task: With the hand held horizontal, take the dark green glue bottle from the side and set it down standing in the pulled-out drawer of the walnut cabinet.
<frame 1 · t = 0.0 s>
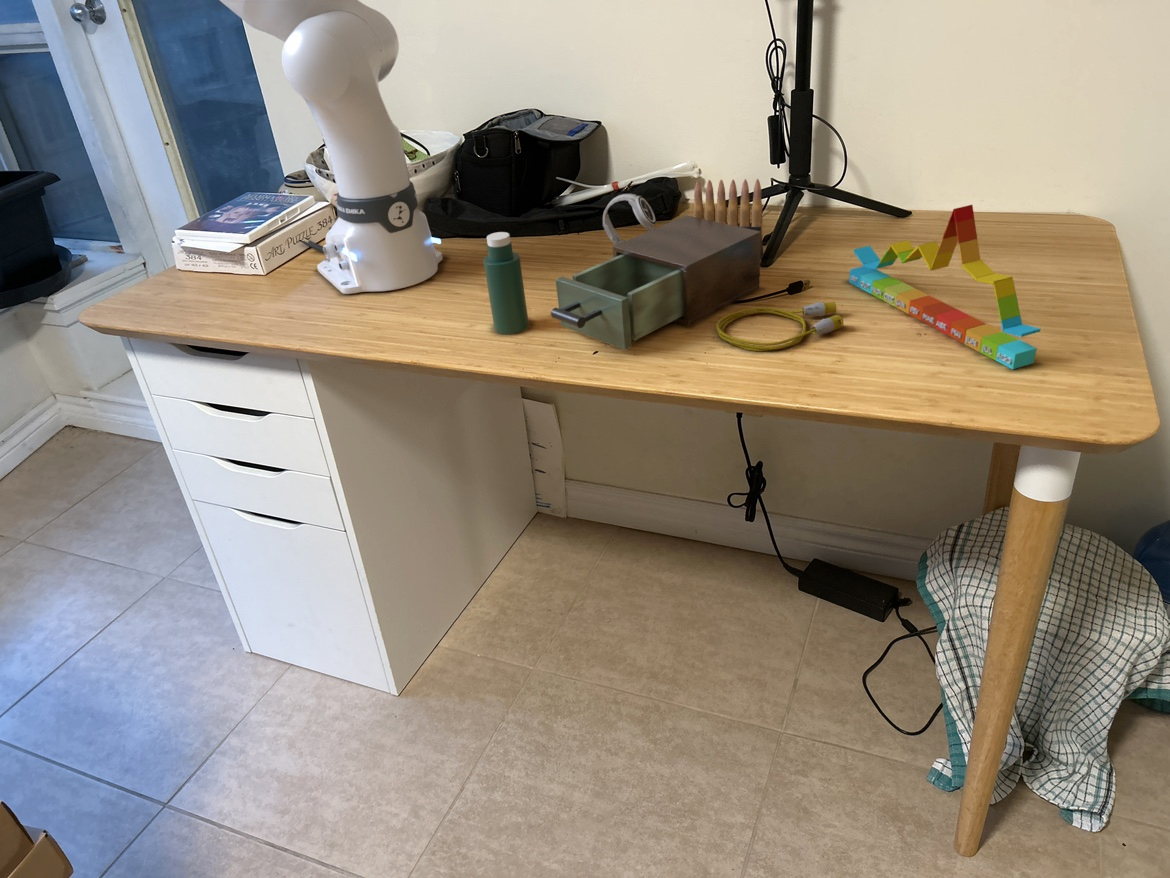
ammunition clip: (727, 258, 132), on the table
chart: (929, 320, 108), on the table
cabinet: (688, 295, 121), on the table
drawer: (617, 300, 111), point 4 cm above the table, slide at 10.0 cm
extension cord: (778, 332, 109), on the table
watch: (632, 266, 133), on the table
glue bottle: (511, 327, 117), on the table
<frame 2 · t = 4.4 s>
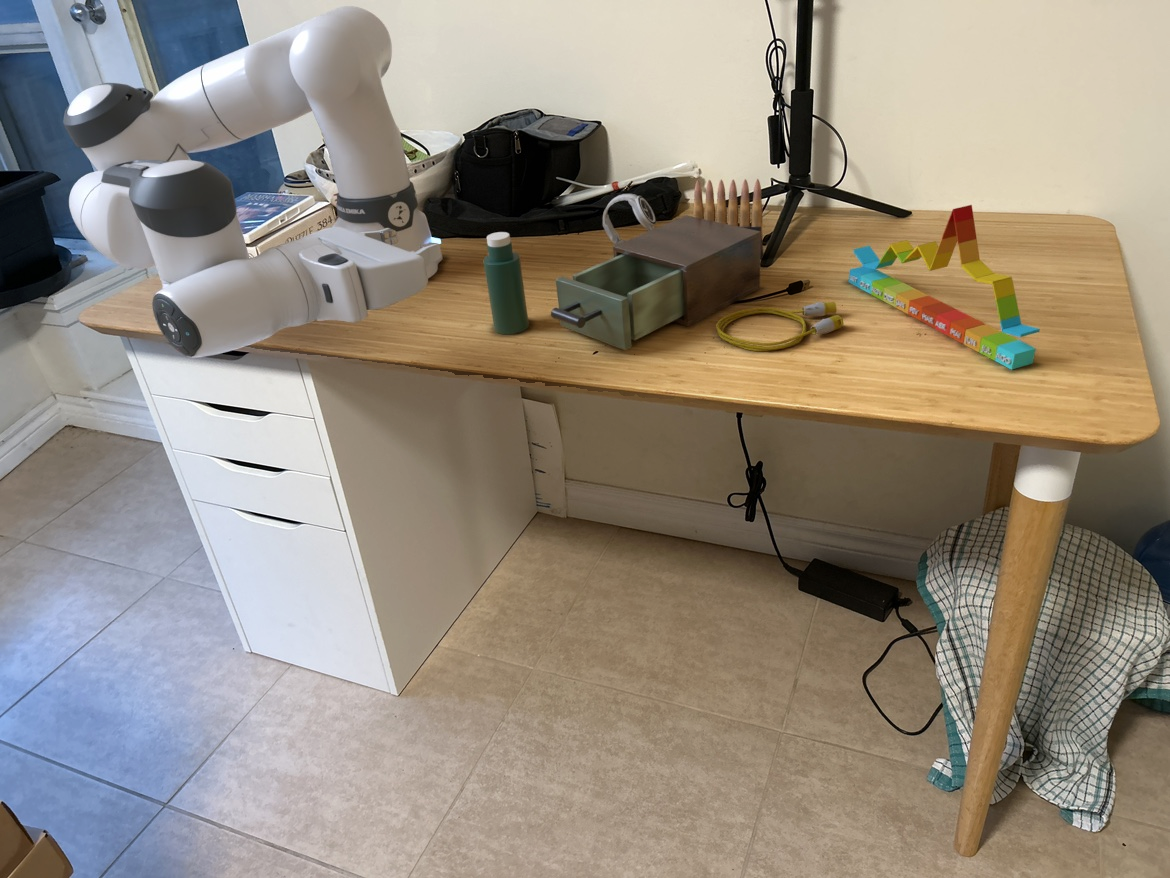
hand: (415, 242, 102), 16 cm above the table, tool horizontal, fingers open, 8 cm apart
nothing on the table moved.
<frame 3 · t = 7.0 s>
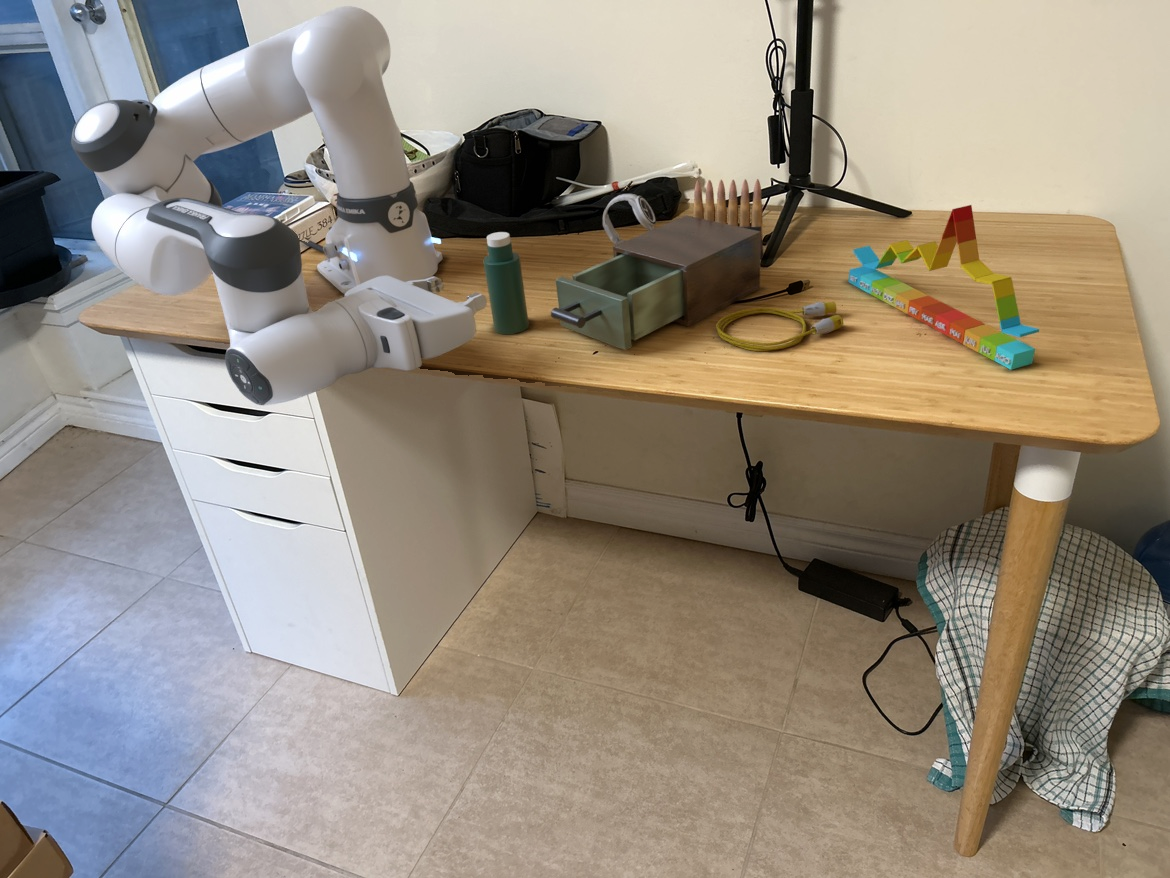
hand: (460, 290, 109), 8 cm above the table, tool horizontal, fingers open, 8 cm apart
nothing on the table moved.
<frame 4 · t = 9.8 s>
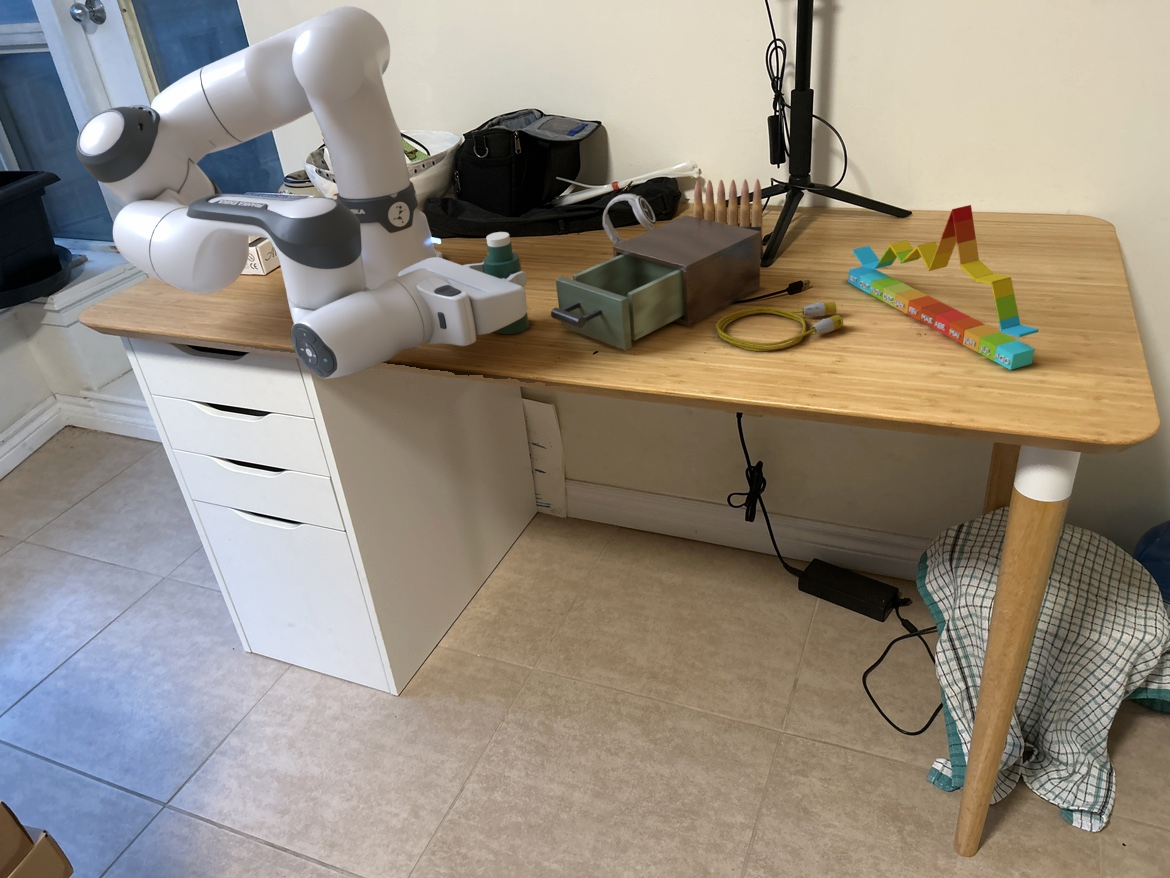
hand: (508, 271, 113), 8 cm above the table, tool horizontal, fingers closed on glue bottle, 5 cm apart
glue bottle: (511, 326, 117), on the table, touching gripper
everything else where it was.
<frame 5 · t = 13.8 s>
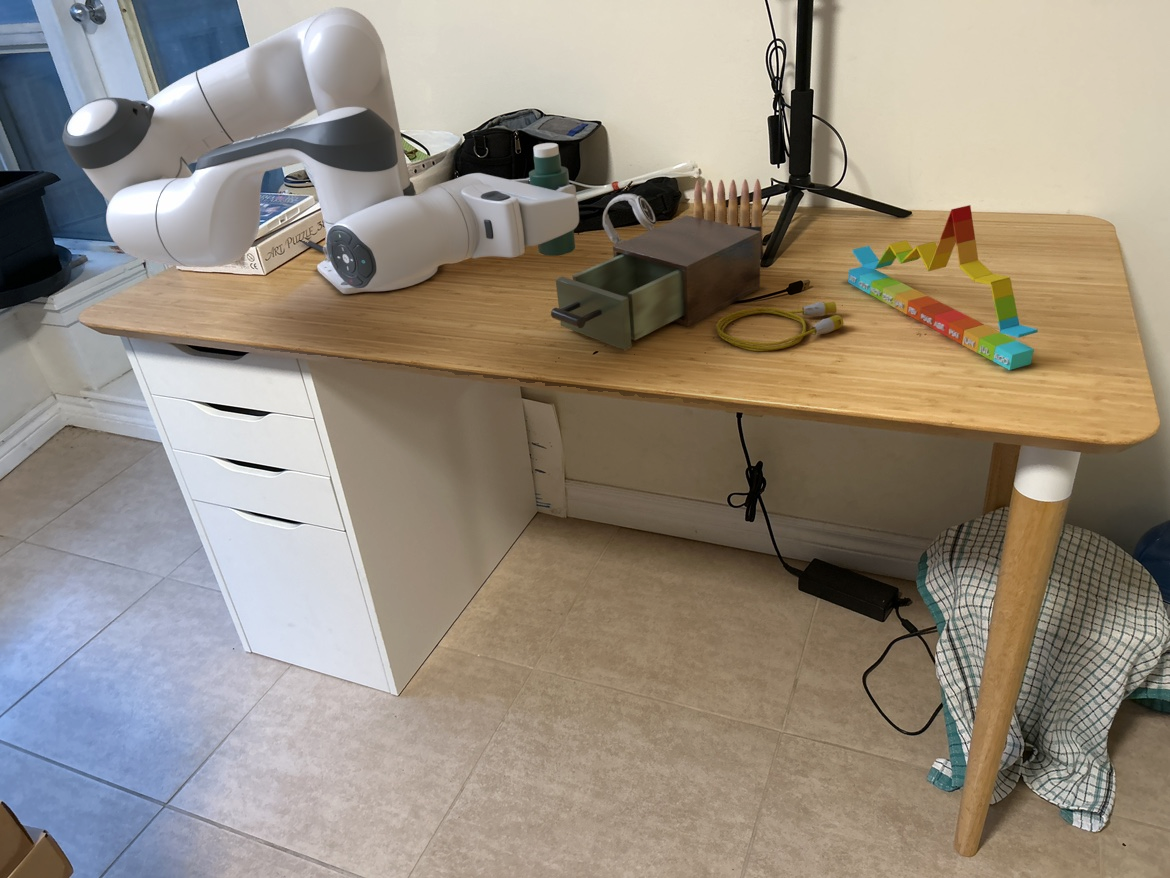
hand: (556, 187, 106), 19 cm above the table, tool horizontal, fingers closed on glue bottle, 5 cm apart
glue bottle: (556, 249, 109), point 11 cm above the table, touching gripper
everything else where it was.
when the fingers open (10 cm above the table, at t = 18.1 s): glue bottle stays where it is, resting on drawer.
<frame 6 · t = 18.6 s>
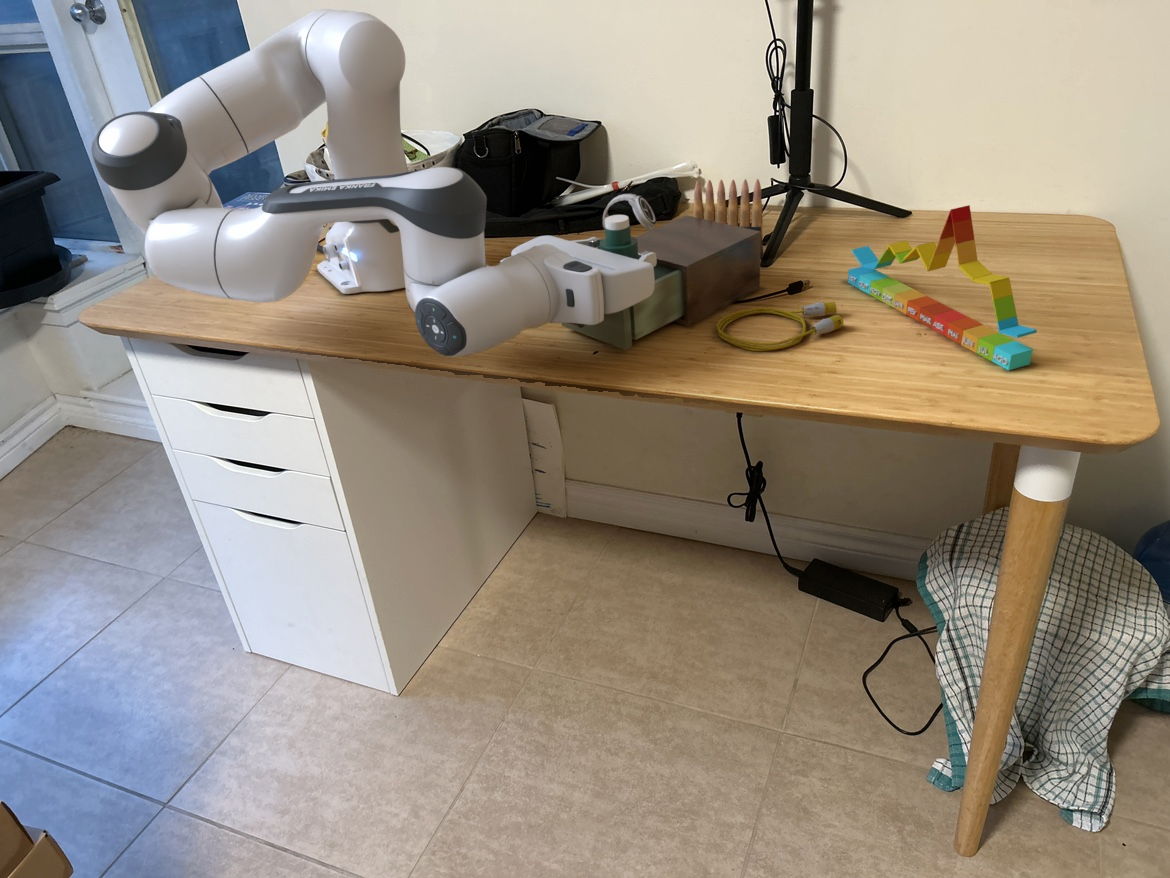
hand: (625, 250, 109), 10 cm above the table, tool horizontal, fingers open, 8 cm apart
drawer: (618, 300, 111), point 4 cm above the table, slide at 9.9 cm, touching glue bottle
glue bottle: (623, 314, 113), point 2 cm above the table, touching drawer
everything else where it was.
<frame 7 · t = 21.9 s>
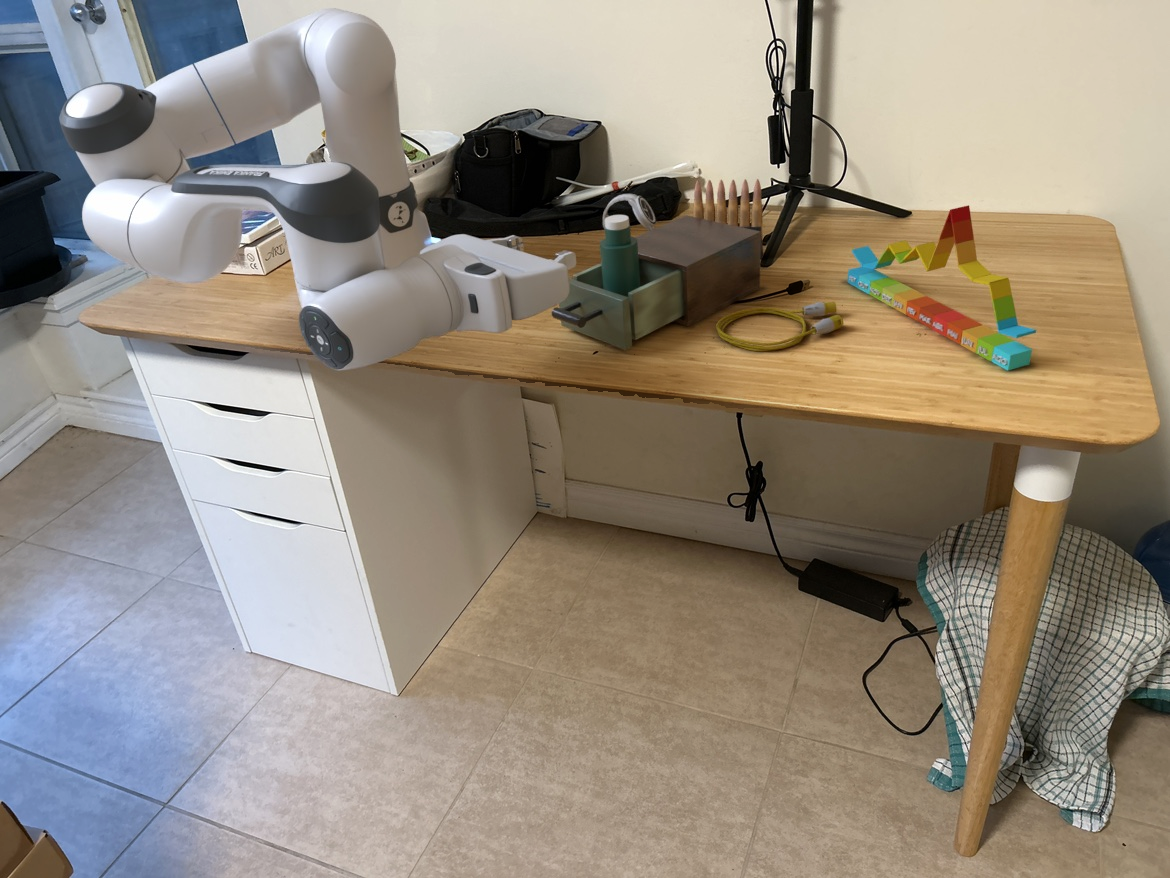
hand: (545, 249, 100), 14 cm above the table, tool horizontal, fingers open, 8 cm apart
nothing on the table moved.
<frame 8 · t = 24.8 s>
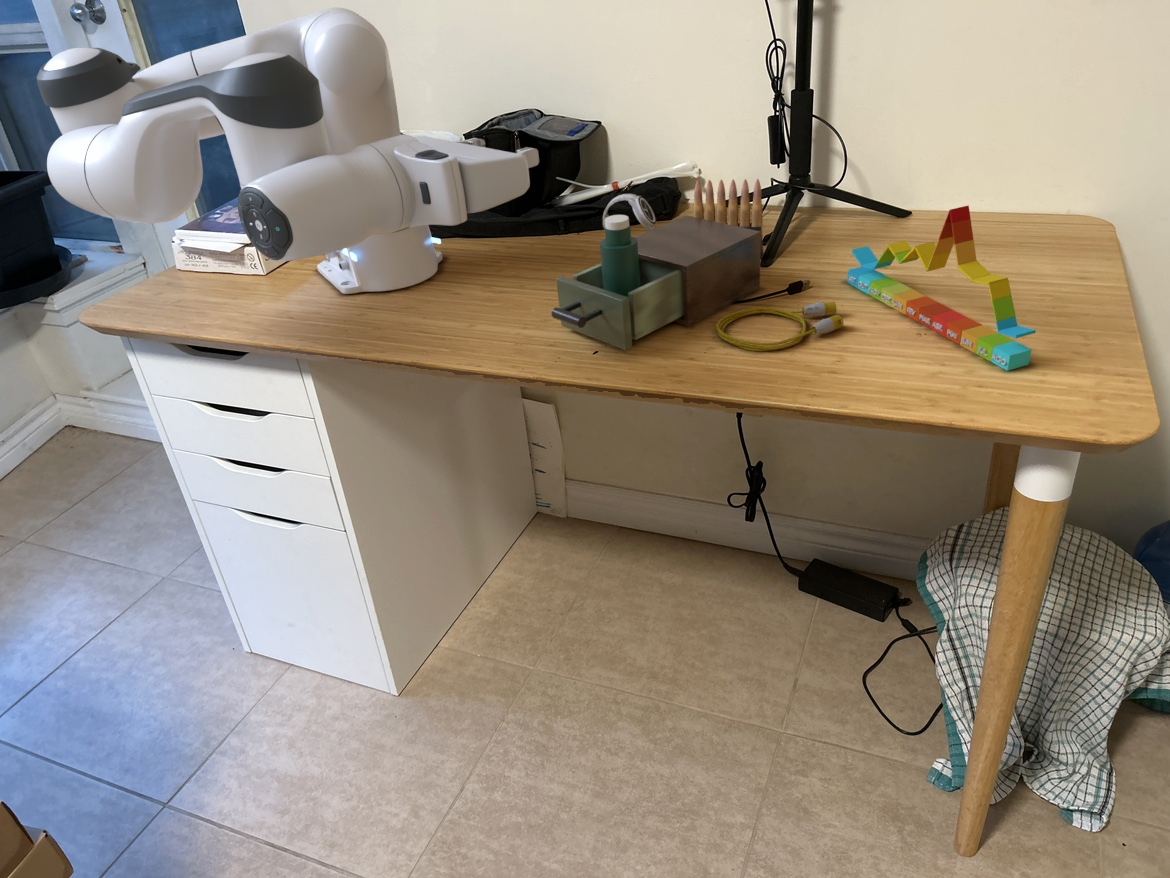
hand: (507, 150, 95), 26 cm above the table, tool horizontal, fingers open, 8 cm apart
nothing on the table moved.
at the end: glue bottle inside the target area (0.6 cm from its centre), point 1.9 cm above the table; glue bottle tilted 0°; the gripper is holding nothing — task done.
